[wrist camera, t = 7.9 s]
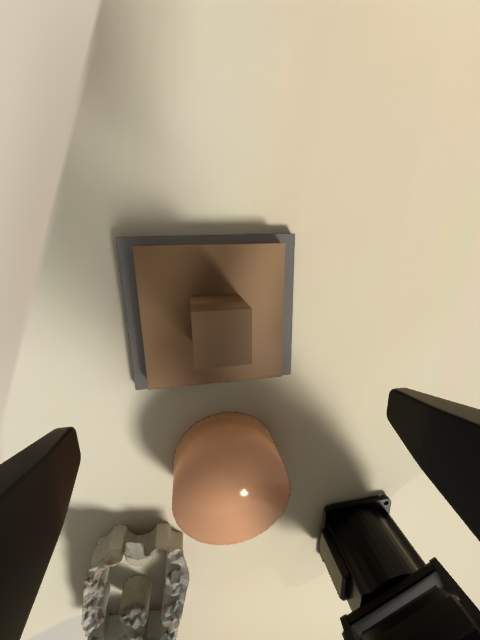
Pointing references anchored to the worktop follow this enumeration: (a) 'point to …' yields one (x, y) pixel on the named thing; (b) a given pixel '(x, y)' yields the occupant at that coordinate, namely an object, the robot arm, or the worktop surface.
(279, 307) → the lid
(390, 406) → the robot arm
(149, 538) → the egg carton
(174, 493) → the peach rounded dome
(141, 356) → the mat
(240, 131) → the worktop surface
